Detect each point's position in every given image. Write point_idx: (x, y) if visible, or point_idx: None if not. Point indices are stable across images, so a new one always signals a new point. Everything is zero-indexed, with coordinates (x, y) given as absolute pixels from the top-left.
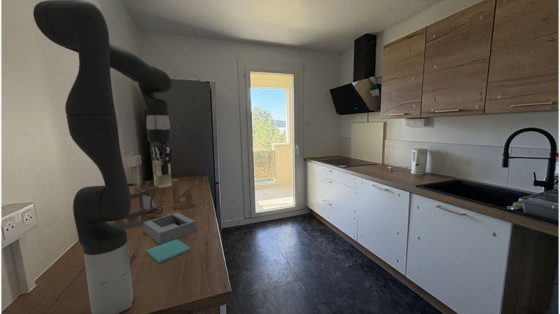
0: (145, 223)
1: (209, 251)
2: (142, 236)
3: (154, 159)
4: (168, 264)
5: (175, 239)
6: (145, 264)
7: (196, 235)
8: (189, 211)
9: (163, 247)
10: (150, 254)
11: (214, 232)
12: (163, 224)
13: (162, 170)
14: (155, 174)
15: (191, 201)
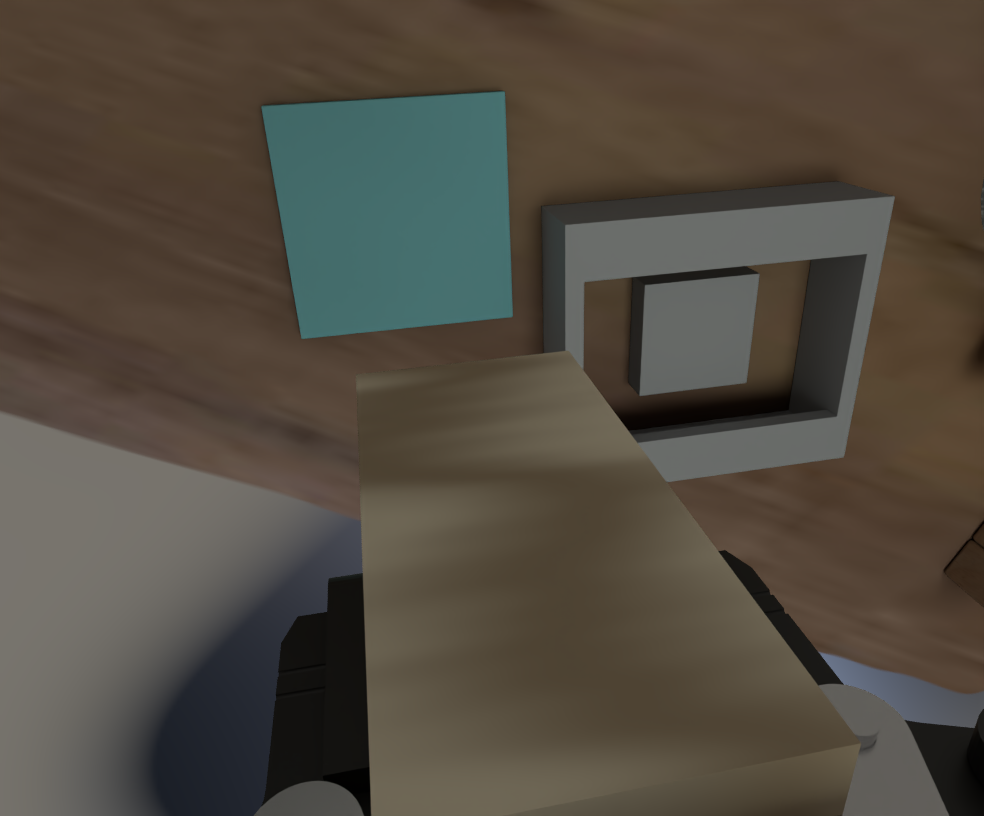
0: (854, 201)
1: (194, 413)
2: (784, 149)
3: (931, 808)
4: (207, 153)
5: (511, 308)
6: (322, 28)
7: None
8: (895, 535)
9: (451, 203)
10: (418, 97)
11: None
12: (815, 324)
13: (328, 656)
14: (547, 477)
15: (980, 601)
